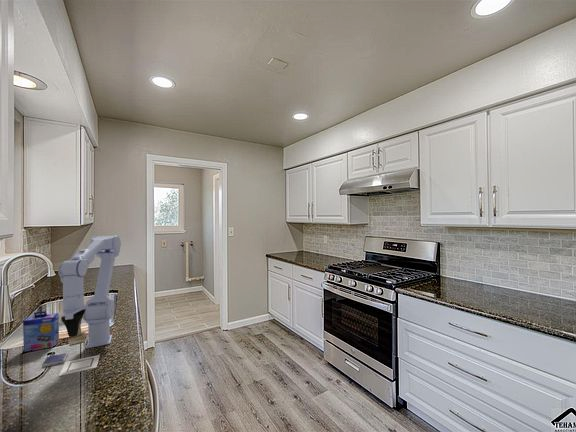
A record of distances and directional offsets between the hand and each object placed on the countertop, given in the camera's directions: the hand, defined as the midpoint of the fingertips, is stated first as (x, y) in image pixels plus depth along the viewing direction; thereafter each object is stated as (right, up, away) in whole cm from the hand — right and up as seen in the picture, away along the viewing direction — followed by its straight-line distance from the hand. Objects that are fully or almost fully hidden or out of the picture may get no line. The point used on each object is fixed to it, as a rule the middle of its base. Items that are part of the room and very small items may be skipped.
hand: (74, 334), depth 97 cm
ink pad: (-8, -11, +2) cm, 14 cm away
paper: (+3, -10, -1) cm, 11 cm away
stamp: (+1, -3, +1) cm, 3 cm away
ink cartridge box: (-24, -12, +14) cm, 30 cm away
